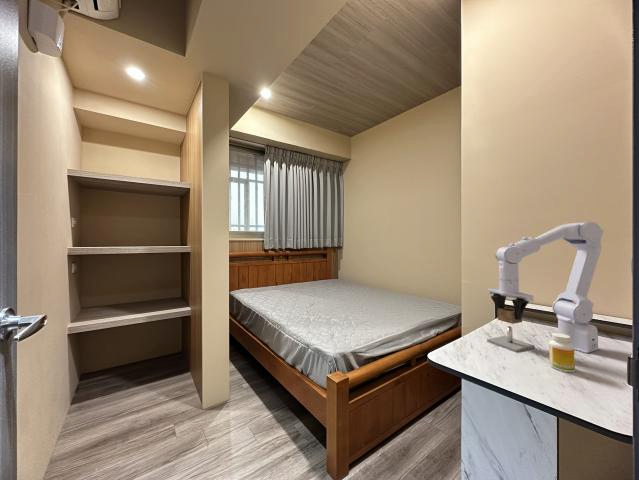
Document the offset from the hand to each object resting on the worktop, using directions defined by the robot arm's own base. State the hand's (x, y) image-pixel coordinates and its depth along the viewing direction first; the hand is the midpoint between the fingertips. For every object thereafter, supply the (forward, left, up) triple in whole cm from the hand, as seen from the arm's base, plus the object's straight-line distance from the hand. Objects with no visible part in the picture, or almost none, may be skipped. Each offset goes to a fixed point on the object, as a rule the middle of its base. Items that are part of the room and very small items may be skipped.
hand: (509, 317), depth 92 cm
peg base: (0, 0, -10) cm, 10 cm away
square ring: (0, 0, -1) cm, 1 cm away
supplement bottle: (-17, +4, -10) cm, 20 cm away
